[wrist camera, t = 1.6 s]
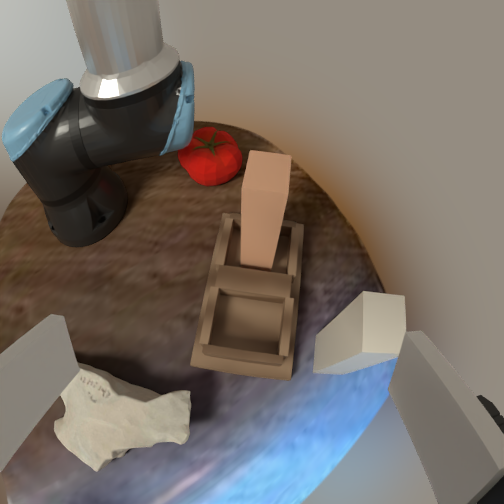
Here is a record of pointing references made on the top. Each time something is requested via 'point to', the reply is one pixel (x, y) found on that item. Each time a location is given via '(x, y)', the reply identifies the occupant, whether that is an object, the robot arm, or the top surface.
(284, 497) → the top surface
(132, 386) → the rock
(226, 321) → the rack
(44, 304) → the top surface
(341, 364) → the white rectangular block
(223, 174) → the tomato
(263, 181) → the salmon orange block
